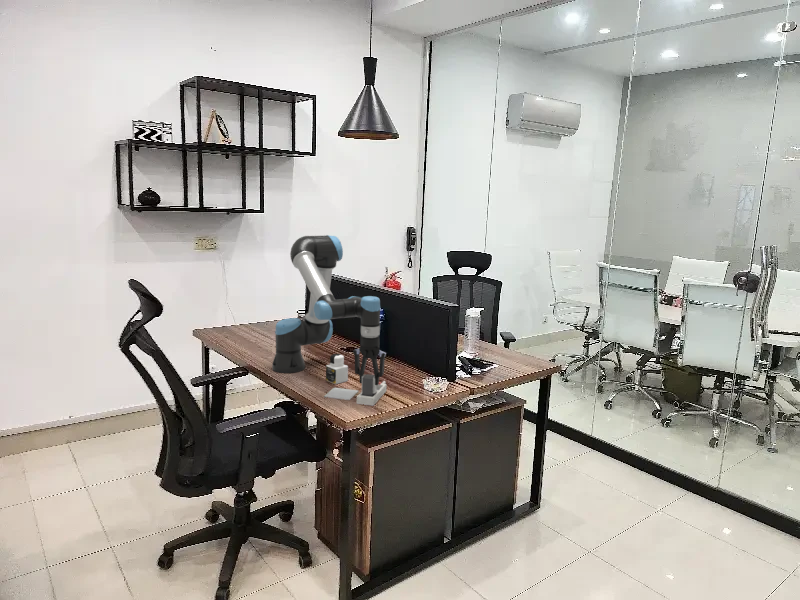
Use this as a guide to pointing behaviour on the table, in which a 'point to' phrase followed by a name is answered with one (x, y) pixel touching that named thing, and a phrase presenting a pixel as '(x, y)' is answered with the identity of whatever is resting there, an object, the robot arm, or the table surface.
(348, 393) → the mat
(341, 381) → the medicine bottle
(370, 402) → the power strip
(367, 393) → the block
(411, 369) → the table surface
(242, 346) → the table surface
